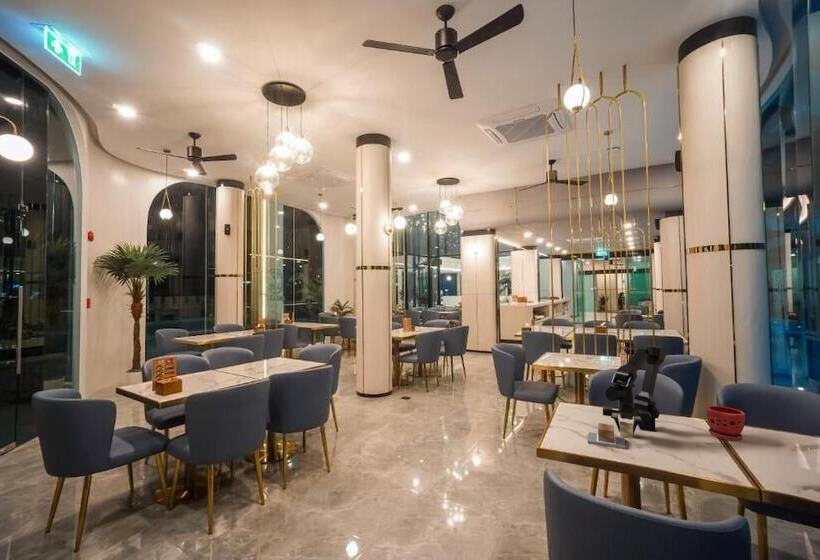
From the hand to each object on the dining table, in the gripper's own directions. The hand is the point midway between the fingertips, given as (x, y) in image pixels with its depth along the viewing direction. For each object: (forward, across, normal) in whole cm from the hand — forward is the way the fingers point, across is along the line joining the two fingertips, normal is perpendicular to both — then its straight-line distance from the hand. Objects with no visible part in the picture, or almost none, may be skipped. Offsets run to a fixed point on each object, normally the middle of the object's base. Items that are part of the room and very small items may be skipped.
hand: (626, 432), depth 173 cm
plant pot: (+1, +39, +17) cm, 43 cm away
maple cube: (+1, 0, 0) cm, 1 cm away
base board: (+1, -8, -12) cm, 14 cm away
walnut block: (0, -8, -12) cm, 15 cm away
